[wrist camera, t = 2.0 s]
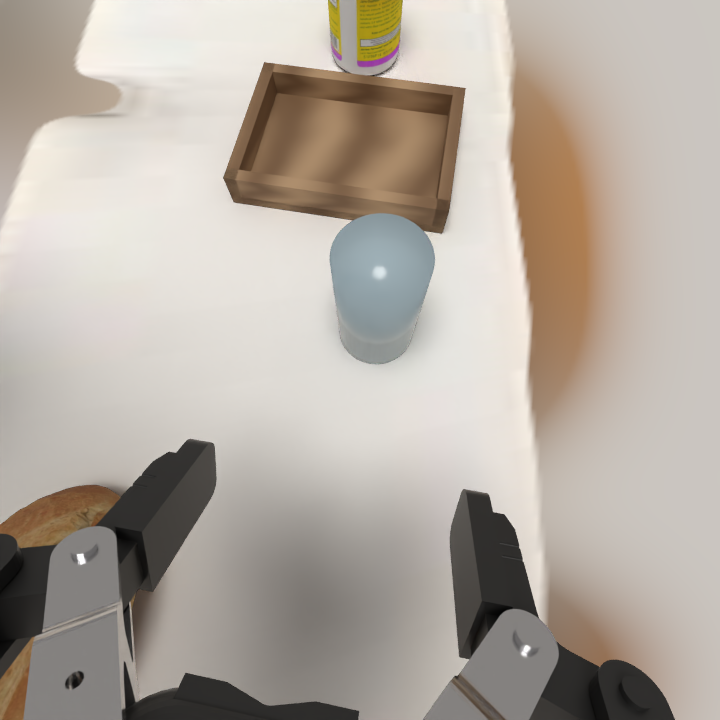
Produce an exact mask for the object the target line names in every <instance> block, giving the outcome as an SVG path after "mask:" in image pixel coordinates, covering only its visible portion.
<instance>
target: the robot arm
mask: <svg viewBox="0 0 720 720" xmlns="http://www.w3.org/2000/svg"><path fill="white" fill-rule="evenodd" d="M215 486H216V462H215V447H214V444H213V443H210V442H205V441H199V440H194V439H188V440H187V441H186V442H185V443H184V444H183V445H182V447H181V448H180V449H179V450H178V451H177V453H173V452H168V453H166V454H164V455H163V456H161V457H160V458H158V459H156V460H155V461H153V462H152V463H151V464H150V465H149V467H148V468H147V469H146V470H145V471H144V472H143V473H142V476H140V477H139V478H138V479H137V480H136V481H135V482H134V483H133V486H131V487H130V488H129V489H128V490H127V491H126V492H125V493H124V494H123V496H122V497H121V498H120V499H119V500H118V501H117V502H116V503H115V504H114V506H113V507H112V508H111V509H110V510H109V511H108V512H107V513H106V515H105V516H104V517H103V518H102V519H101V520H100V521H99V522H98V523H97V524H96V525H95V526H93V527H87V528H84V529H81V530H78V531H76V532H74V533H72V534H70V535H68V536H67V537H66V538H64V539H63V540H62V541H61V542H60V543H59V544H56V545H48V546H37V547H26V548H19V546H18V543H17V541H16V539H15V538H14V537H13V536H11V535H8V534H1V533H0V679H1V678H2V676H3V675H4V674H5V672H6V671H7V670H8V668H9V667H10V666H11V664H12V663H13V662H14V660H15V659H16V658H17V656H18V655H19V654H20V653H21V651H22V650H23V649H24V647H25V646H26V645H27V643H28V642H29V641H30V639H31V638H32V637H35V638H34V641H33V645H32V651H31V660H30V668H29V676H28V685H27V693H26V702H25V710H24V718H23V720H358V716H359V711H356V710H352V709H347V708H343V707H338V706H334V705H329V704H324V703H320V702H306V703H295V704H285V705H275V706H268V705H264V704H262V703H261V702H259V701H257V700H256V699H254V698H252V697H251V696H249V695H248V694H246V693H244V692H243V691H241V690H239V689H238V688H236V687H234V686H233V685H231V684H230V683H228V682H225V681H220V680H216V679H211V678H206V677H202V676H197V675H193V674H188V673H185V675H184V677H183V679H182V681H181V684H180V686H179V688H172V689H168V690H164V691H160V692H158V693H155V694H152V695H150V696H148V697H146V698H144V699H142V700H140V695H139V688H138V682H137V674H136V663H135V650H134V637H133V624H132V611H131V602H130V601H131V600H132V598H133V597H134V595H135V593H136V592H137V590H138V589H142V590H147V591H151V592H153V591H154V589H155V587H156V586H157V584H158V583H159V581H160V579H161V578H162V576H163V575H164V573H165V571H166V570H167V568H168V567H169V565H170V563H171V562H172V560H173V558H174V557H175V555H176V554H177V552H178V550H179V549H180V547H181V546H182V544H183V542H184V541H185V539H186V538H187V536H188V534H189V533H190V531H191V530H192V528H193V526H194V525H195V523H196V522H197V520H198V518H199V517H200V515H201V514H202V512H203V510H204V509H205V507H206V505H207V504H208V502H209V501H210V499H211V497H212V495H213V493H214V490H215ZM450 552H451V564H452V576H453V588H454V600H455V612H456V624H457V636H458V648H459V657H461V658H466V659H470V660H469V661H468V663H467V664H466V665H465V667H464V668H463V670H462V671H461V673H460V674H459V675H458V676H455V677H454V678H453V679H452V680H451V681H450V682H449V684H448V685H447V686H446V688H445V689H444V691H443V692H442V693H441V695H440V696H439V698H438V699H437V701H436V702H435V703H434V705H433V706H432V708H431V709H430V710H429V712H428V713H427V715H426V716H425V718H424V719H423V720H675V719H674V717H673V714H672V711H671V709H670V707H669V705H668V703H667V700H666V698H665V697H664V695H663V693H662V692H661V691H660V689H659V688H658V687H657V685H656V684H655V683H654V682H653V681H652V680H651V679H650V678H649V677H648V676H647V675H646V674H645V673H643V672H642V671H641V670H639V669H638V668H636V667H635V666H633V665H631V664H629V663H627V662H624V661H620V660H609V661H606V662H604V663H603V664H602V665H601V667H599V666H597V665H595V664H593V663H591V662H589V661H587V660H585V659H583V658H582V657H580V656H578V655H576V654H574V653H572V652H570V651H569V650H567V649H565V648H564V647H562V646H561V645H560V644H559V643H558V642H556V640H555V638H554V636H553V635H552V632H551V631H550V630H549V628H548V627H547V626H546V625H545V624H544V623H543V622H542V621H541V620H540V619H539V617H538V614H537V611H536V607H535V603H534V600H533V596H532V592H531V588H530V584H529V581H528V577H527V573H526V569H525V566H524V562H523V561H522V560H523V558H522V554H521V550H520V549H519V543H518V539H517V535H516V532H515V529H514V527H513V526H512V525H511V523H510V522H509V520H508V519H507V518H506V516H505V515H504V514H500V513H494V512H493V510H492V506H491V501H490V497H489V495H488V494H487V493H482V492H476V491H471V490H465V489H463V491H462V492H461V495H460V499H459V502H458V505H457V509H456V512H455V515H454V518H453V522H452V525H451V532H450Z"/></svg>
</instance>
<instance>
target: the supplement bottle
mask: <svg viewBox="0 0 720 720" xmlns="http://www.w3.org/2000/svg"><path fill="white" fill-rule="evenodd" d="M402 2H403V0H328V9H329V22H330V36H331V47H332V54H333V57H334V59H335V61H336V62H337V64H338V65H339V66H340V67H341V68H343V69H344V70H346V71H348V72H350V73H353V74H359V75H374V74H378V73H381V72H383V71H385V70H386V69H388V68H389V67H390V66H391V65H392V64H393V63H394V61H395V60H396V58H397V55H398V51H399V42H400V29H401V15H402Z"/></svg>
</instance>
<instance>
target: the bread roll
mask: <svg viewBox="0 0 720 720" xmlns="http://www.w3.org/2000/svg"><path fill="white" fill-rule="evenodd" d="M120 498H121V497H120V496H119V495H117V494H116V493H114V492H113V491H112V490H110V489H108V488H106V487H102V486H98V485H84V486H76V487H72V488H68V489H65V490H62V491H59V492H56V493H53V494H51V495H48V496H45V497H43V498H40V499H38V500H36V501H35V502H33V503H31V504H30V505H28V506H27V507H25V508H23V509H20V510H19V511H17V512H16V513H15V514H13V515H12V516H10V517H9V518H8V519H7V520H6V521H5V522H3V523H2V524H1V525H0V533H1V534H8V535H11V536H13V537H14V538H15V539H16V541H17V543H18V546H19V548H26V547H37V546H48V545H56V544H59V543H60V542H61V541H62V540H63V539H64V538H66V537H67V536H68V535H70V534H72V533H74V532H76V531H78V530H81V529H84V528H87V527H93V526H95V525H96V524H97V523H98V522H99V521H100V520H101V519H102V518H103V517H104V516H105V515H106V513H107V512H108V511H109V510H110V509H111V508H112V507H113V506H114V504H115V503H116V502H117V501H118V500H119V499H120ZM135 595H136V593H135ZM135 595H134V597H133V598H132V600H131V601H130V602H131V610H132V606H133V603H134V599H135ZM34 638H35V637H32V638H31V639H30V641H29V642H28V643H27V645H26V646H25V647H24V649H23V650H22V651H21V653H20V654H19V655H18V656H17V658H16V659H15V660H14V662H13V663H12V664H11V666H10V667H9V668H8V670H7V671H6V672H5V674H4V675H3V676H2V678H1V679H0V720H23V718H24V710H25V702H26V693H27V685H28V676H29V668H30V660H31V651H32V645H33V641H34Z"/></svg>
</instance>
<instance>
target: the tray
mask: <svg viewBox="0 0 720 720" xmlns="http://www.w3.org/2000/svg"><path fill="white" fill-rule="evenodd" d="M465 89H466V88H460V87H453V86H445V85H437V84H429V83H421V82H414V81H406V80H398V79H390V78H382V77H375V76H367V75H359V74H351V73H344V72H336V71H328V70H320V69H312V68H305V67H297V66H289V65H281V64H273V63H266V62H264V65H263V68H262V70H261V73H260V76H259V79H258V82H257V84H256V87H255V90H254V93H253V96H252V99H251V101H250V104H249V107H248V110H247V113H246V115H245V118H244V121H243V124H242V127H241V129H240V132H239V135H238V138H237V141H236V144H235V146H234V149H233V152H232V155H231V158H230V160H229V163H228V166H227V169H226V172H225V174H224V177H223V179H224V181H225V183H226V185H227V188H228V190H229V192H230V194H231V197H232V199H233V201H234V202H237V203H243V204H250V205H257V206H263V207H270V208H277V209H283V210H290V211H296V212H303V213H310V214H316V215H323V216H330V217H336V218H343V219H350V220H355V219H357V218H359V217H362V216H365V215H369V214H376V213H386V214H393V215H398V216H401V217H404V218H406V219H408V220H410V221H412V222H413V223H415V224H416V225H417V226H419V227H420V228H421V229H422V230H423V231H430V232H436V233H442V232H443V229H444V226H445V222H446V219H447V216H448V213H449V208H450V200H451V193H452V185H453V178H454V170H455V163H456V155H457V148H458V141H459V133H460V126H461V118H462V111H463V103H464V96H465Z"/></svg>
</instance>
